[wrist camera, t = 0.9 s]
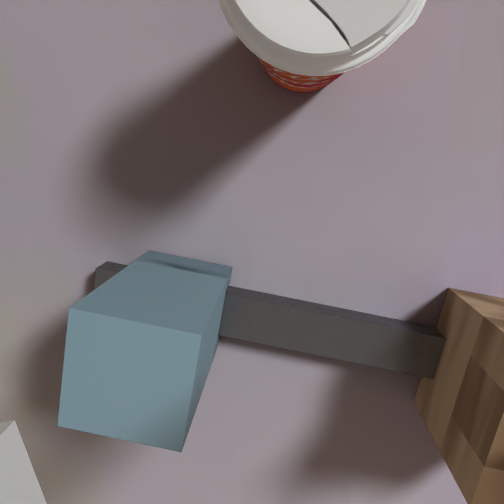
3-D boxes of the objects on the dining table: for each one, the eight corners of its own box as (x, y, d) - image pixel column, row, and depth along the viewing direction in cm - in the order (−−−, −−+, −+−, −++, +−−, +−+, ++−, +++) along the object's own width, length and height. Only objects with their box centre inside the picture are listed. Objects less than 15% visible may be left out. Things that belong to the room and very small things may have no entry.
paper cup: (225, 81, 29) (173, 15, 15) (272, -42, 27) (261, -243, 13) (335, 129, 29) (382, 107, 15) (389, 10, 27) (496, -136, 13)
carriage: (138, 328, 32) (57, 425, 21) (149, 250, 31) (69, 307, 19) (218, 344, 32) (181, 452, 21) (232, 267, 31) (201, 335, 19)
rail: (102, 300, 33) (91, 309, 31) (107, 261, 32) (95, 268, 30) (424, 365, 32) (433, 379, 30) (436, 327, 31) (446, 338, 29)
